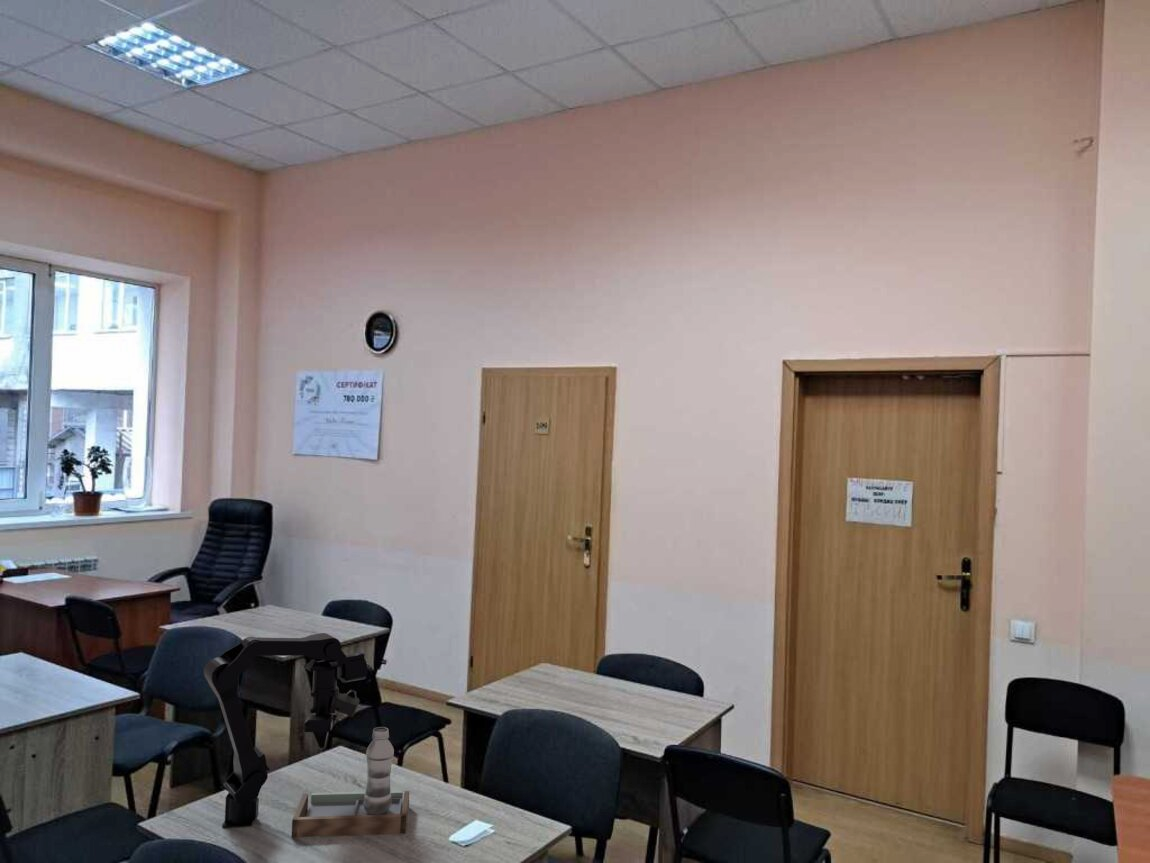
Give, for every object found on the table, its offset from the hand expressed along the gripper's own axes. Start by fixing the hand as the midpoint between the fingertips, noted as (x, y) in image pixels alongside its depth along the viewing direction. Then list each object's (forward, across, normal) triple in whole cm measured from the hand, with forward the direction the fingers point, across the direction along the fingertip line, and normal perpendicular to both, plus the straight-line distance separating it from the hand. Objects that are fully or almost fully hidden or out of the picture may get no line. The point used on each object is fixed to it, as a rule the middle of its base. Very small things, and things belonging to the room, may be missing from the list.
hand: (322, 747), depth 200 cm
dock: (+13, -12, -10) cm, 20 cm away
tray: (+13, -10, -10) cm, 19 cm away
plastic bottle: (+12, -10, -15) cm, 22 cm away
